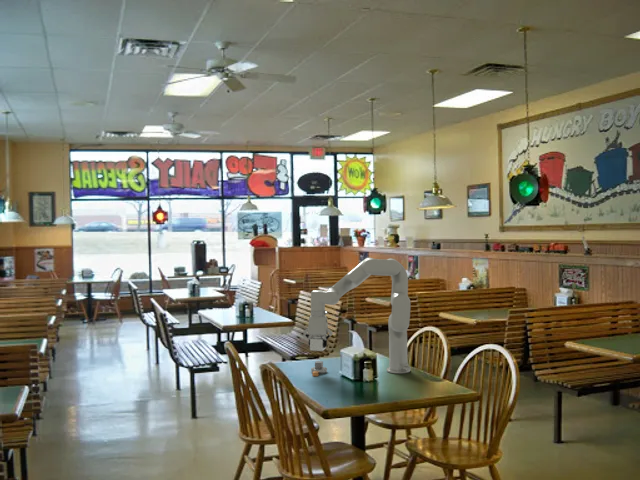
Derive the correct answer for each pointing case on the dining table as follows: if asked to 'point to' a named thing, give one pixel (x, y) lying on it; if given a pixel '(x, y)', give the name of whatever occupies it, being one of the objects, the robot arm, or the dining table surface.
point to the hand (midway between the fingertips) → (317, 346)
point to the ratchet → (318, 369)
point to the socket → (317, 343)
